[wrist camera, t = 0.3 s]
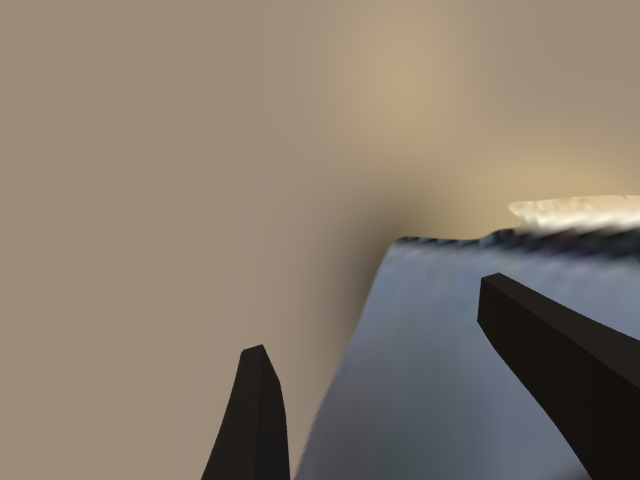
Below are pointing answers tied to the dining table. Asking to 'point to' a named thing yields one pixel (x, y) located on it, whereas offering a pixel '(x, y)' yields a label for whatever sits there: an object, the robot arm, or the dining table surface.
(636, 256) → the dining table surface
